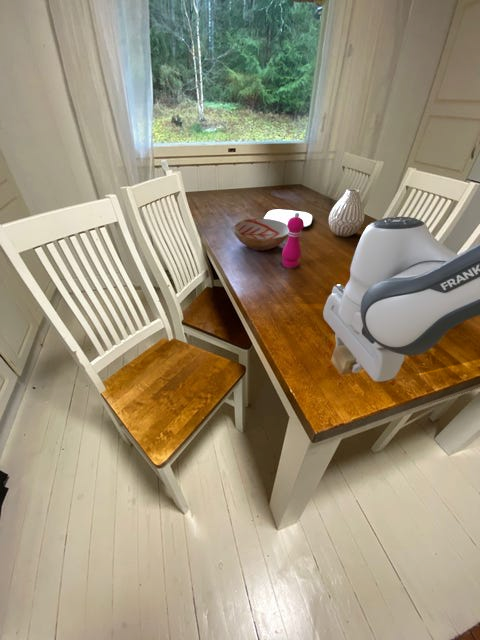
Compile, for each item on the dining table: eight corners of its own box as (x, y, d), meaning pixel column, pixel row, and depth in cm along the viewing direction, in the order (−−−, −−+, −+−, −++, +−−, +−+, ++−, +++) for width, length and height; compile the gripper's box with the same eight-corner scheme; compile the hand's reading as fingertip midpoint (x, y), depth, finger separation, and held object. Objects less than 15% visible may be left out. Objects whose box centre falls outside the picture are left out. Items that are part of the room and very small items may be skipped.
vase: (323, 227, 141) (331, 185, 129) (353, 228, 141) (365, 186, 128) (329, 239, 129) (339, 194, 116) (363, 240, 128) (377, 195, 116)
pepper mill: (277, 263, 109) (282, 212, 97) (289, 258, 113) (295, 208, 100) (291, 270, 105) (298, 217, 92) (302, 264, 109) (311, 213, 96)
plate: (313, 215, 156) (313, 212, 155) (309, 231, 137) (310, 227, 136) (269, 211, 161) (269, 208, 160) (260, 225, 142) (260, 222, 141)
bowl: (243, 231, 135) (243, 215, 130) (293, 239, 129) (295, 222, 124) (224, 252, 117) (223, 234, 112) (281, 261, 110) (283, 243, 105)
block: (359, 371, 58) (365, 357, 55) (341, 375, 57) (346, 361, 54) (348, 356, 61) (353, 342, 58) (330, 360, 60) (335, 346, 58)
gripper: (322, 282, 57) (311, 331, 65) (386, 349, 41) (361, 403, 50) (349, 278, 58) (335, 327, 67) (421, 342, 42) (391, 395, 51)
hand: (347, 360), depth 58 cm, fingers closed on block, 4 cm apart
